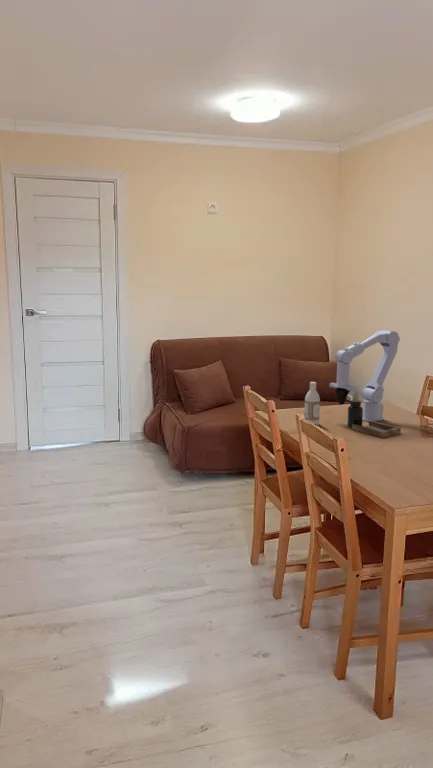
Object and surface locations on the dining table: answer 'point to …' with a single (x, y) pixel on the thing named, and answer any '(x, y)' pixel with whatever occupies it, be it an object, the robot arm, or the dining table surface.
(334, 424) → the dining table surface
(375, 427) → the tray
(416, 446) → the dining table surface
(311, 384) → the bath foam
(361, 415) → the supplement bottle
